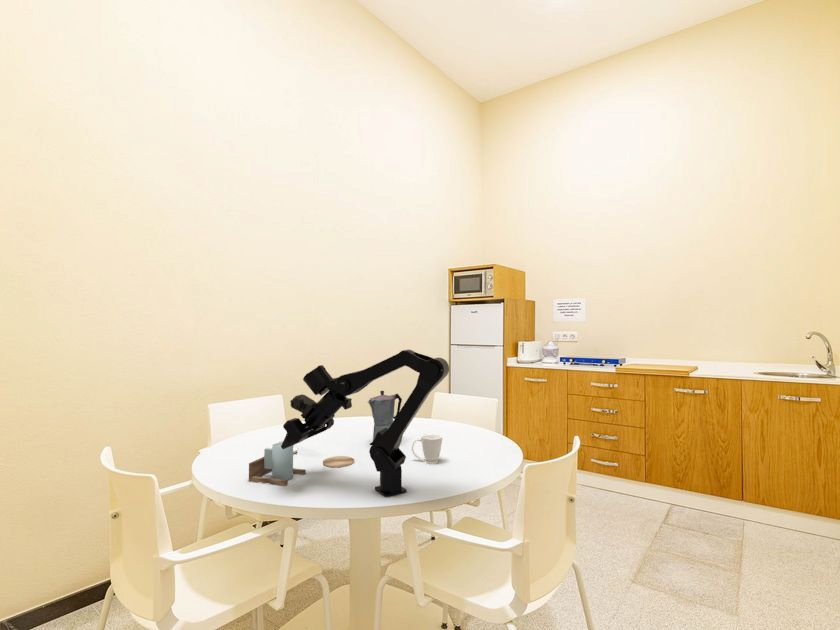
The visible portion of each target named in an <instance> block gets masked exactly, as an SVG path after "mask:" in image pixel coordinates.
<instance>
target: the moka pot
mask: <svg viewBox="0 0 840 630" xmlns="http://www.w3.org/2000/svg"><path fill="white" fill-rule="evenodd" d="M379 392H380V395H377V396H373V397H370V398H369V400H368V401H367V404H369V406H370V410H371V414H372V419H373V423H374V425H373V433H372V435H373V436H372V442H373V441H374V439H375V437H376V434H377V433H378V432H379V431H381V430H382V429H384V428H385V427H386V428H387V429H389V427H390V426H391V424H392V423H393V421H394V419H395V418H396V416H397V415H398V413H399V412H400V410H401V408H402V407H401V406H402V401H403V399H402V397H401V395H400V394H399V393H396V394H391V395H388V394H385V390H380V391H379ZM396 399H398V402H397V411H396V414H395V408H396V407H395V405H396V404H395V403H396Z"/></svg>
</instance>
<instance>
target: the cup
mask: <svg viewBox="0 0 840 630" xmlns="http://www.w3.org/2000/svg"><path fill="white" fill-rule="evenodd" d="M417 441H418V442H421V445H422V452H423V455H424V456H423V457H424V459H423V458H421V457H420V456H419V455H417V454H416V453H415V452H414V445H415V443H416V442H417ZM442 443H443V436H442V435H440V434H434V433H429V434H423V435H421V436H420V438H416V439H415V440H414V441H413V442H412V446H411V451H412V454H413V455H414V457H416V458H417V459H418V460H420V461H422V462H425V463H426V464H430V463H431V464H432V463H433V464H437V463H439V460H438V459H440V454H441V450H442Z"/></svg>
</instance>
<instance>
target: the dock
mask: <svg viewBox="0 0 840 630" xmlns="http://www.w3.org/2000/svg"><path fill="white" fill-rule="evenodd" d="M270 473H272V469H265V468H264V456H263V457H260V458H258V459H256V460H253V461H251V462H249V463H248V482H250V481H253V482H252V483H258V482H262V483H261V484H266V483H270V484H269V485H274V484H275V485H276V486H284V487H286V486H288V483H289V482H288V481H289V480H281V479H273V478H272V477H265V474H266V475H268V474H270ZM306 474H307V469H302V468H296V467H295V468H294V467H293V475H301V476H302V475H303V476H304V475H306ZM263 475H264V476H263ZM261 476H262V477H261Z"/></svg>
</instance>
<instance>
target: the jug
mask: <svg viewBox="0 0 840 630" xmlns="http://www.w3.org/2000/svg"><path fill="white" fill-rule="evenodd" d="M282 443H283V442H281V443H278V442H276V443H274V444H272V445H271V447H272V448H271V447H266V448H264V451H263V452H264V453H263V454H264V455H263V457H264V468H265V469H272V471H271V478H273V479H281V480H288V481H291V480H292V479H294V474H293V468H294V453H293V448H294V445H292V446H290V447H288V448H285V449H282V447H281V445H282Z"/></svg>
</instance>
